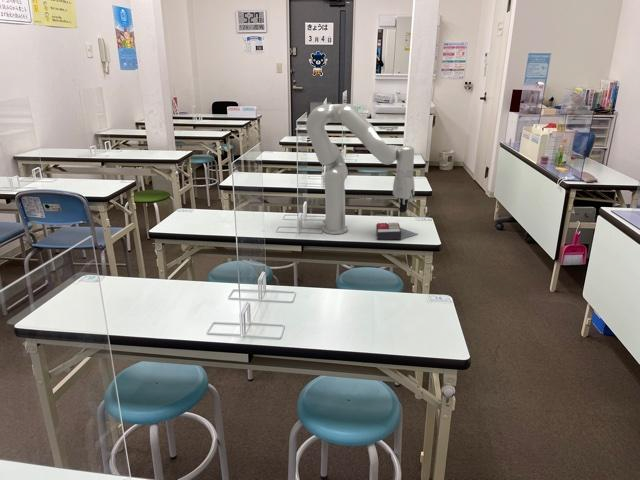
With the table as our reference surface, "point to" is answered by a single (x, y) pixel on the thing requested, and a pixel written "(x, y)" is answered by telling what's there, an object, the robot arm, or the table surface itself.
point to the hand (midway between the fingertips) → (403, 211)
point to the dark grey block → (388, 231)
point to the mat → (406, 233)
